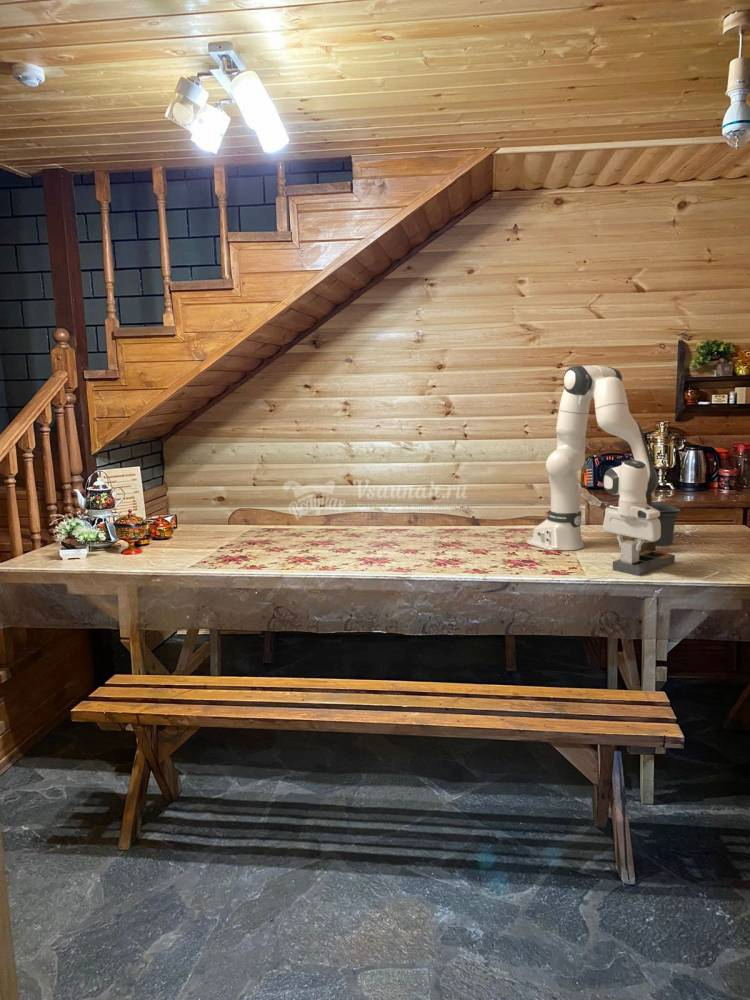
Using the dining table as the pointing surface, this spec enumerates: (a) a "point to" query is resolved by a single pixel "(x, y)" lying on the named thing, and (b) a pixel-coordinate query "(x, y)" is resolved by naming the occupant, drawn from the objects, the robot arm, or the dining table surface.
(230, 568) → the dining table surface
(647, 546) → the beer bottle
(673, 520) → the storage bin
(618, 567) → the grey tray
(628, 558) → the block
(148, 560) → the dining table surface
